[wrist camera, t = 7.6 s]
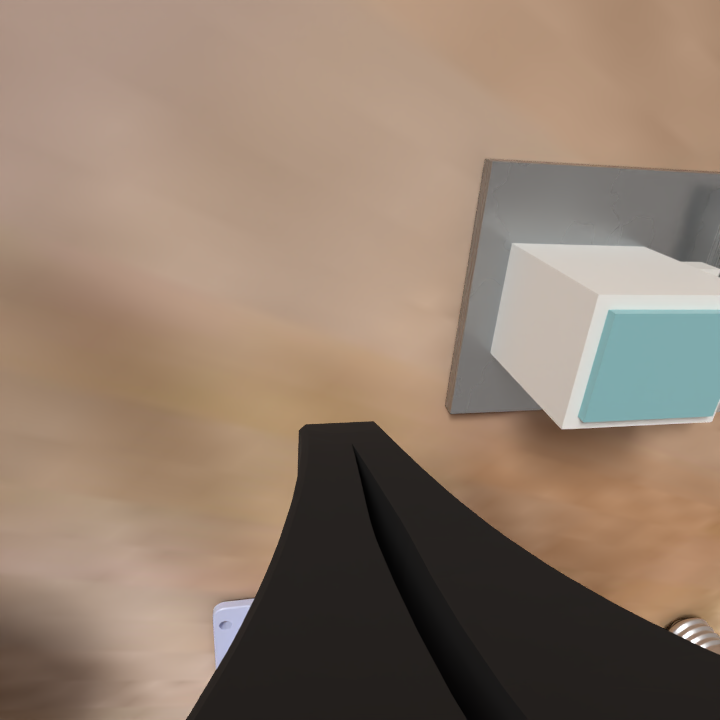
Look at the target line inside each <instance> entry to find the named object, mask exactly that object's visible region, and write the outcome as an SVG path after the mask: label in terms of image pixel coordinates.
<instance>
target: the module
mask: <svg viewBox="0 0 720 720" xmlns="http://www.w3.org/2000/svg"><path fill="white" fill-rule="evenodd" d="M719 273H720V269H718V268H716V267H713V266H711V265H708V264H706V263H703V262H680V261H678V260H676V259H673V258H671V257H668V256H666V255H663V254H661V253H659V252H656V251H654V250H651V249H649V248H646V247H638V246H601V245H565V244H528V243H512V245H511V250H510V255H509V260H508V265H507V270H506V275H505V281H504V286H503V291H502V296H501V301H500V306H499V311H498V316H497V321H496V326H495V331H494V336H493V342H492V347H491V352H490V353H491V354H492V355H493V356H494V358H495V359H496V360H497V361H498V362H499V363H500V364H501V365H502V366H503V367H504V368H505V369H506V370H507V371H508V373H509V374H510V375H511V376H512V377H513V378H514V379H515V380H516V381H517V382H518V383H519V384H520V385H521V386H522V388H523V389H524V390H525V391H526V392H527V393H528V394H529V395H530V396H531V397H532V398H533V399H534V400H535V402H536V403H537V404H538V405H539V406H540V407H541V408H542V409H543V410H544V411H545V412H546V413H547V414H548V415H549V417H550V418H551V419H552V420H553V421H554V422H555V423H556V424H557V425H558V426H559V427H560V428H561V429H580V428H600V427H620V426H640V425H660V424H680V423H700V422H712V420H713V418H714V415H715V413H716V410H717V408H718V405H719V403H720V278H719V277H718V276H719Z"/></svg>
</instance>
